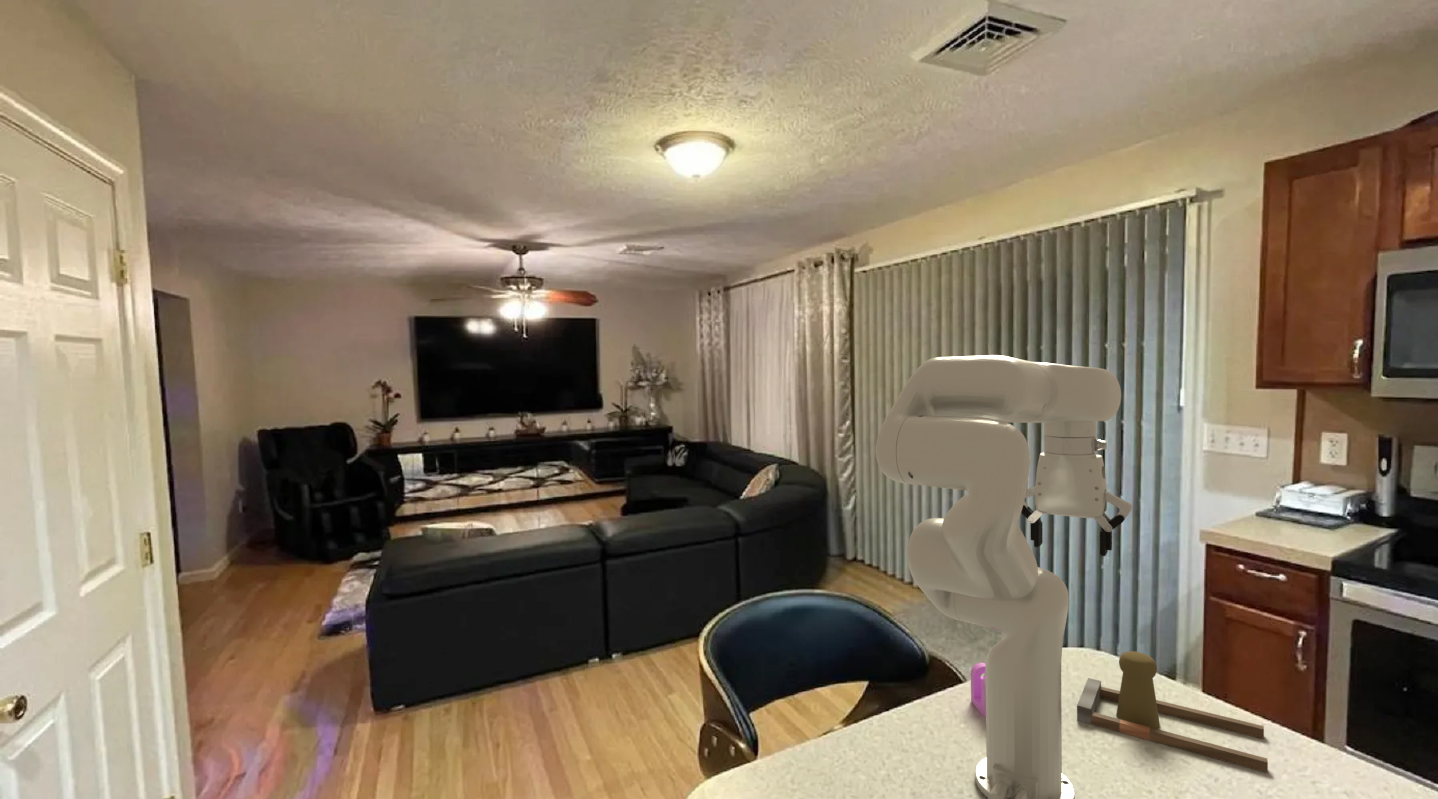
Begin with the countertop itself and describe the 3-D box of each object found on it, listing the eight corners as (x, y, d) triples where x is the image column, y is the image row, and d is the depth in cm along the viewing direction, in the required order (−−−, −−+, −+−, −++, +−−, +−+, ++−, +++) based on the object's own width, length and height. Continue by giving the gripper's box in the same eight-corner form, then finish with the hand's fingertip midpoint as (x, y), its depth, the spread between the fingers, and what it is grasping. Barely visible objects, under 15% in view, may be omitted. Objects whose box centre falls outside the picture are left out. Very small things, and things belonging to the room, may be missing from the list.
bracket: (984, 718, 108) (984, 678, 107) (971, 701, 113) (970, 663, 113) (1061, 715, 108) (1061, 675, 108) (1043, 698, 113) (1043, 660, 113)
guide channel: (1267, 772, 91) (1267, 755, 91) (1077, 720, 106) (1077, 705, 106) (1263, 735, 100) (1263, 719, 100) (1088, 691, 115) (1088, 677, 115)
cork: (1167, 731, 102) (1167, 664, 101) (1125, 728, 103) (1125, 662, 103) (1149, 711, 108) (1149, 647, 107) (1110, 709, 109) (1110, 645, 109)
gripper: (1134, 446, 103) (1134, 552, 104) (1018, 441, 113) (1019, 537, 114) (1129, 452, 97) (1129, 564, 98) (1007, 446, 107) (1008, 547, 108)
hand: (1070, 549), depth 106 cm, fingers open, 9 cm apart
